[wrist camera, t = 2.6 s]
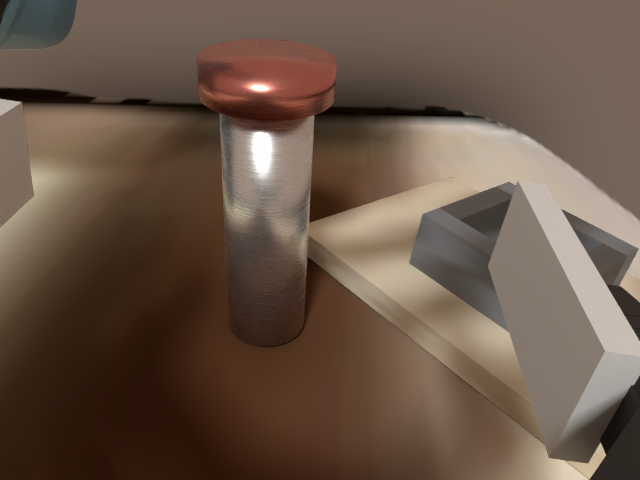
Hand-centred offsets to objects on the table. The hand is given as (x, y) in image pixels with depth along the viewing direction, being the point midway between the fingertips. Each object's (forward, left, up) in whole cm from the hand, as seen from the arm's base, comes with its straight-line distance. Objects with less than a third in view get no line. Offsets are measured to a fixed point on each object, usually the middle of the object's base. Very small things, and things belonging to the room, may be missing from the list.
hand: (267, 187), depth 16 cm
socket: (-1, +21, -14) cm, 25 cm away
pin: (-7, +7, -13) cm, 17 cm away
